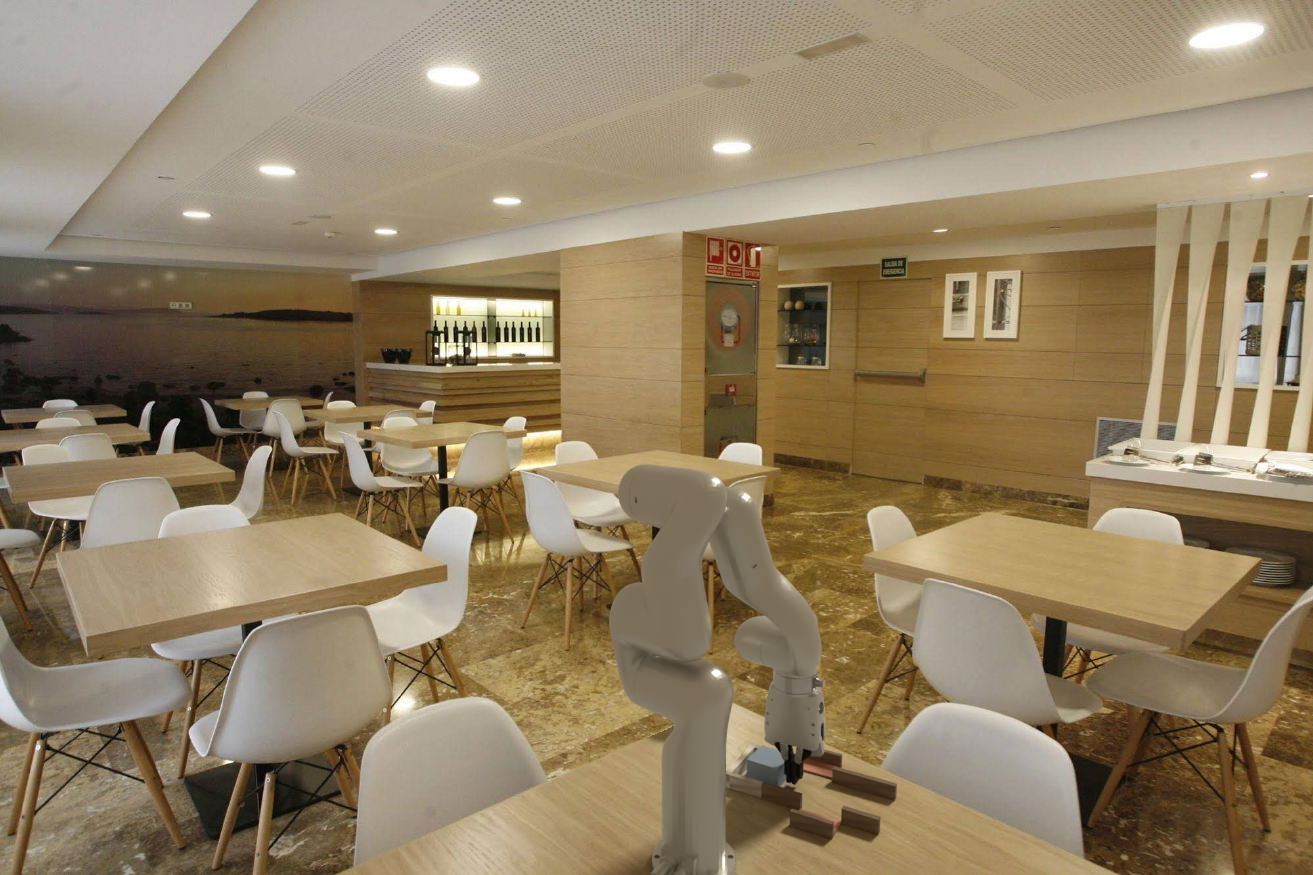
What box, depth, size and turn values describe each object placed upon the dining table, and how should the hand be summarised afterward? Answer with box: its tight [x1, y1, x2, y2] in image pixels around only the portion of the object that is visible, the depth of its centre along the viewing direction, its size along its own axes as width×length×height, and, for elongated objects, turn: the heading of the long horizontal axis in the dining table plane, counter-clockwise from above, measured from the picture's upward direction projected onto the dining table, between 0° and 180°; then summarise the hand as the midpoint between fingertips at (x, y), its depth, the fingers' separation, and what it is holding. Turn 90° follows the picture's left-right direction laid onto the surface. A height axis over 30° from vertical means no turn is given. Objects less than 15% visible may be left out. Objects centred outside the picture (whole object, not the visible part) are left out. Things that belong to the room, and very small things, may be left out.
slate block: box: [746, 745, 786, 787], centre depth 137 cm, size 6×6×4 cm
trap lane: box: [726, 743, 898, 840], centre depth 132 cm, size 22×27×2 cm
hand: (793, 779), depth 134 cm, fingers closed
